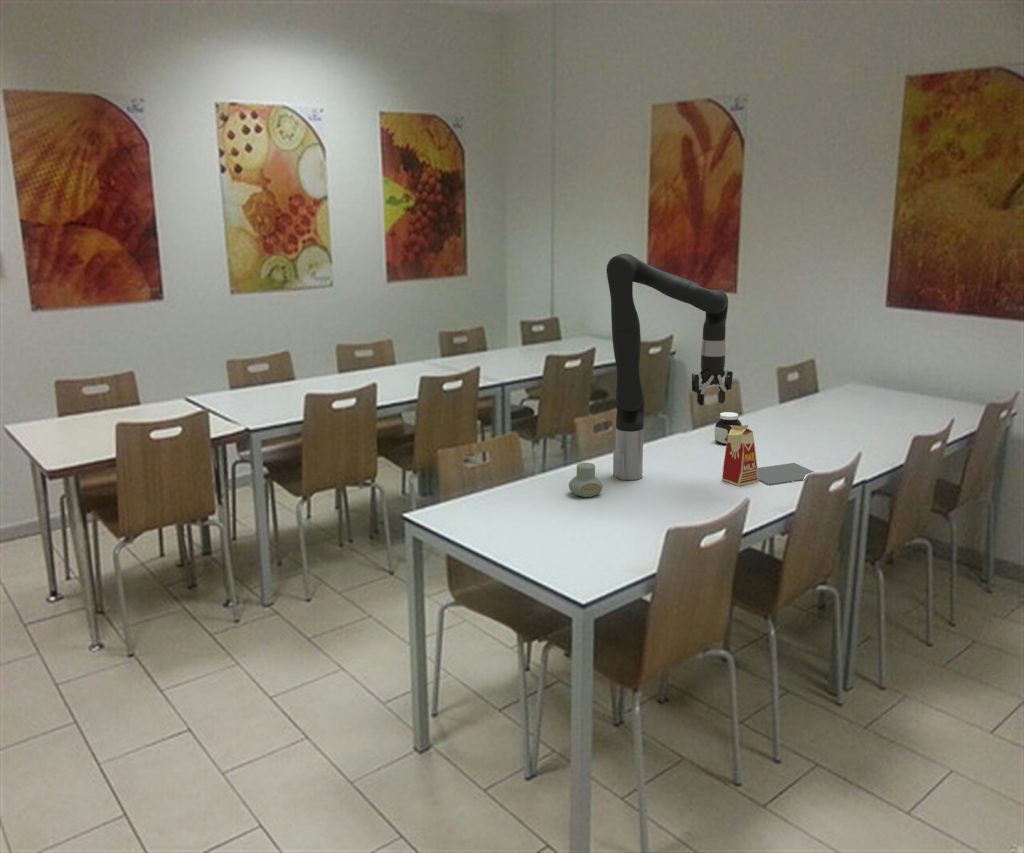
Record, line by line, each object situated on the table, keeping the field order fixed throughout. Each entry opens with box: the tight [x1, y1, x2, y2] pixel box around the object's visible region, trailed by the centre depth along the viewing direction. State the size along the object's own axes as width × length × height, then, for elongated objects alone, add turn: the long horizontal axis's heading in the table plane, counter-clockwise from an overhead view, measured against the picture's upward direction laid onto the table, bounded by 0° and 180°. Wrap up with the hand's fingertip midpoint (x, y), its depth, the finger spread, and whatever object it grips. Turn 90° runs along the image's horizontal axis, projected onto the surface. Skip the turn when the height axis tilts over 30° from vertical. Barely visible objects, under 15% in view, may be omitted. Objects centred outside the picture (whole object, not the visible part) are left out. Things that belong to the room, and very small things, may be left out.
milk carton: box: [721, 424, 760, 487], centre depth 287 cm, size 9×9×20 cm
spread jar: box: [714, 411, 743, 447], centre depth 331 cm, size 12×11×12 cm
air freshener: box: [568, 462, 604, 498], centre depth 278 cm, size 11×8×10 cm
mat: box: [757, 462, 815, 486], centre depth 294 cm, size 22×16×1 cm
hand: (711, 403), depth 278 cm, fingers open, 7 cm apart
